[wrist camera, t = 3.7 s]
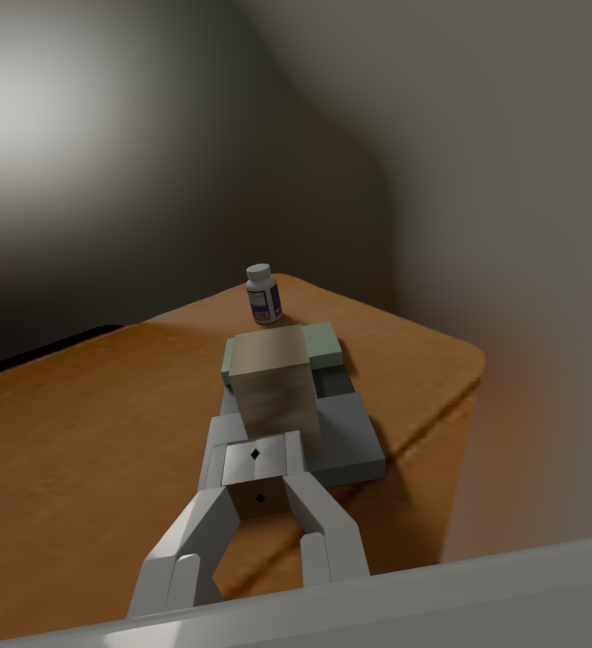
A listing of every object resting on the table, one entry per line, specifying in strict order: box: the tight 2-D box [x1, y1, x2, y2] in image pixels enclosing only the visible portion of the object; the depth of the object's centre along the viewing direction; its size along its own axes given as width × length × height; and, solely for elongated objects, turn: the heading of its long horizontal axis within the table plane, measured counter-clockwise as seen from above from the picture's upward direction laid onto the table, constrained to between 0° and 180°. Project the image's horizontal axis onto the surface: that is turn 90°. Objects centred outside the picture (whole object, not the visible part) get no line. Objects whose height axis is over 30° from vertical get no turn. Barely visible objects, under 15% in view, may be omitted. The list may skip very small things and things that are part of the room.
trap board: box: [197, 321, 386, 493], centre depth 38 cm, size 16×25×2 cm, turn 5°
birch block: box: [228, 324, 324, 457], centre depth 28 cm, size 6×6×10 cm
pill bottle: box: [246, 264, 282, 324], centre depth 56 cm, size 5×5×10 cm
